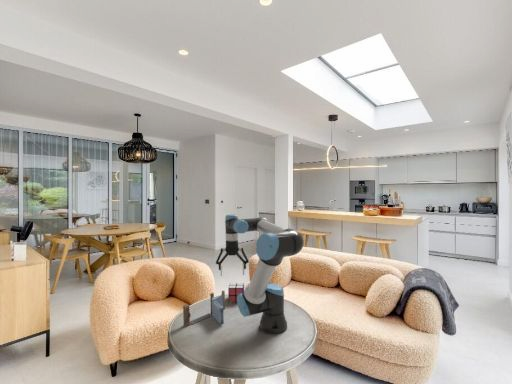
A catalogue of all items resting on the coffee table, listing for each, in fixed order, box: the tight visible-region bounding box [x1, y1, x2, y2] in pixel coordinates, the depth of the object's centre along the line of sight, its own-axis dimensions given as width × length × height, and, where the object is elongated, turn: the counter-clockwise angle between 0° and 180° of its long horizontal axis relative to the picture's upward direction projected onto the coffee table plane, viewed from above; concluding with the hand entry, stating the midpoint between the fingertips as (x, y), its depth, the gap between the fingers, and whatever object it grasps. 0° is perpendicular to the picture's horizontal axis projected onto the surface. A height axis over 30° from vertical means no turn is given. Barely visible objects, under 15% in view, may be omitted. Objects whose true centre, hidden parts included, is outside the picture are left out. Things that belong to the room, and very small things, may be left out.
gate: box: [212, 297, 225, 325], centre depth 164 cm, size 14×2×10 cm, turn 28°
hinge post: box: [209, 292, 215, 316], centre depth 172 cm, size 2×2×13 cm
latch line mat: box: [190, 312, 213, 326], centre depth 165 cm, size 4×15×1 cm, turn 138°
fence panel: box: [214, 290, 226, 311], centre depth 176 cm, size 2×8×12 cm, turn 138°
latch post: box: [182, 303, 191, 328], centre depth 158 cm, size 3×3×12 cm
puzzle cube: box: [227, 282, 245, 303], centre depth 193 cm, size 10×10×10 cm
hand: (232, 274), depth 171 cm, fingers open, 13 cm apart
